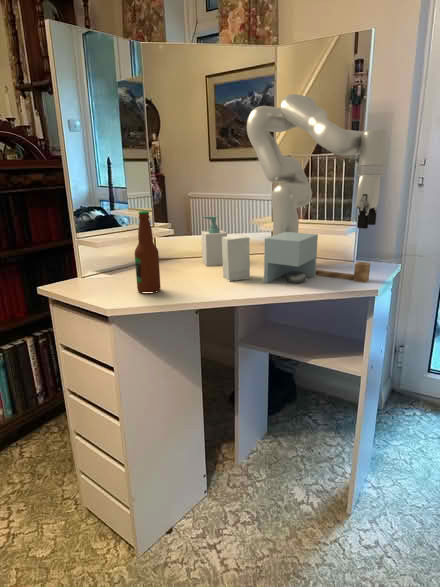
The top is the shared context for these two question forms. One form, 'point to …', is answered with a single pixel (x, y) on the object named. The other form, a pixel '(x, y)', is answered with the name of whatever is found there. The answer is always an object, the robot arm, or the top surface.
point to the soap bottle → (212, 244)
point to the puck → (296, 277)
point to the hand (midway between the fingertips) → (366, 226)
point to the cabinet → (290, 255)
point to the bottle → (146, 257)
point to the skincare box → (236, 257)
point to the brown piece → (359, 274)
